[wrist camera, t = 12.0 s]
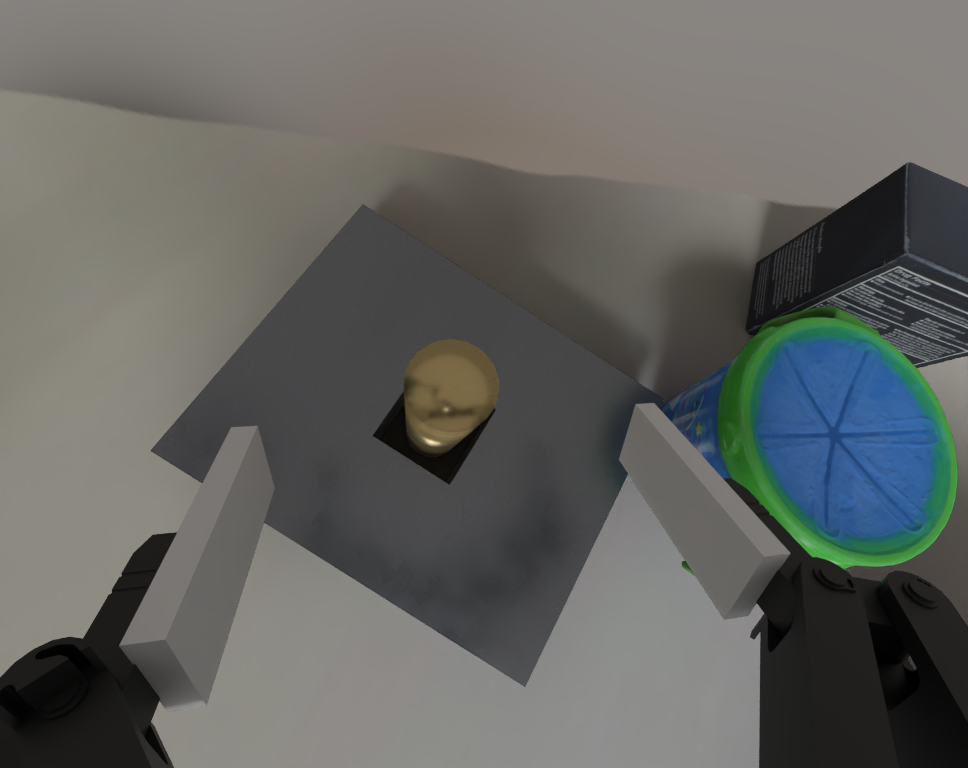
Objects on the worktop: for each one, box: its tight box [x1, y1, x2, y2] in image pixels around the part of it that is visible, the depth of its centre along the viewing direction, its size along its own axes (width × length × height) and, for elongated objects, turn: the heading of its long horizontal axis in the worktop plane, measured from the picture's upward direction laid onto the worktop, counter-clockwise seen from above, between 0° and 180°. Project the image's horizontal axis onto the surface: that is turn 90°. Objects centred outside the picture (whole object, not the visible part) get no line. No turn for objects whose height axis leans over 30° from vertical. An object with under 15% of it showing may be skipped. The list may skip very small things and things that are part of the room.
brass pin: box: [404, 339, 499, 457], centre depth 19 cm, size 3×3×12 cm
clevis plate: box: [151, 204, 664, 687], centre depth 23 cm, size 20×16×4 cm
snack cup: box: [661, 306, 958, 604], centre depth 23 cm, size 16×10×10 cm
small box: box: [746, 162, 968, 368], centre depth 26 cm, size 11×6×10 cm, turn 72°
